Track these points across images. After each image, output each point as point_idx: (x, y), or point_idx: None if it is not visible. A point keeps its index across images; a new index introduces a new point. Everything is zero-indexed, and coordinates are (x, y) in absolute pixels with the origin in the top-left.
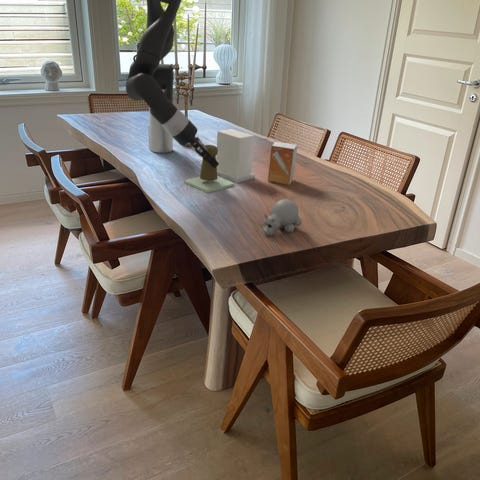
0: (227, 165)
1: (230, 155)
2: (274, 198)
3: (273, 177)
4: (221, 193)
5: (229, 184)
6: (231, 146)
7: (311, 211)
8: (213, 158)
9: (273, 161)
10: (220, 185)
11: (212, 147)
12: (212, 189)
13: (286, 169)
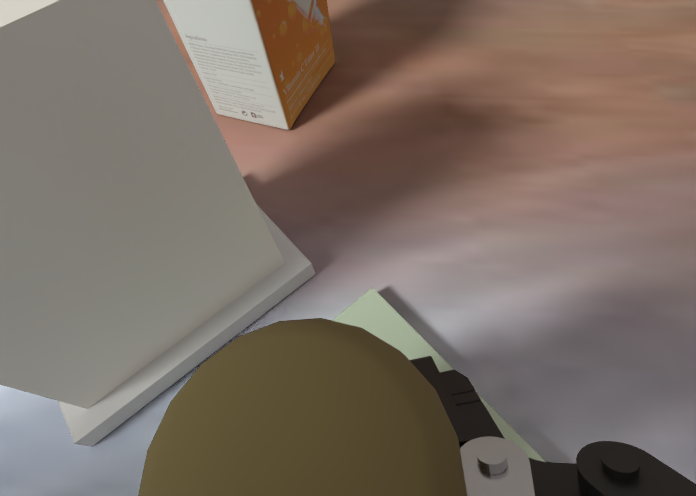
0: (168, 299)
1: (145, 231)
2: (536, 114)
3: (296, 91)
4: (550, 385)
5: (399, 317)
6: (92, 163)
7: (645, 13)
8: (459, 415)
9: (271, 10)
10: None
11: (388, 408)
12: (541, 457)
13: (315, 1)
